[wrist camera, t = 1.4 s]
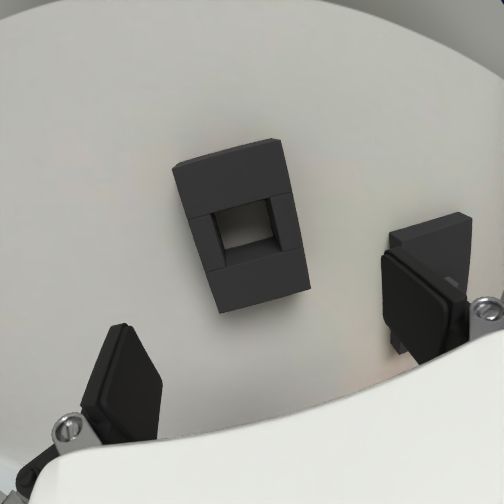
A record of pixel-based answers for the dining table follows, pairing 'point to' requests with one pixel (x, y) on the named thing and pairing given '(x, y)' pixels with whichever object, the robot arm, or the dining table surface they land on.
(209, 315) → the dining table surface
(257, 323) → the dining table surface
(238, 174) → the black socket block
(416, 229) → the base pad
